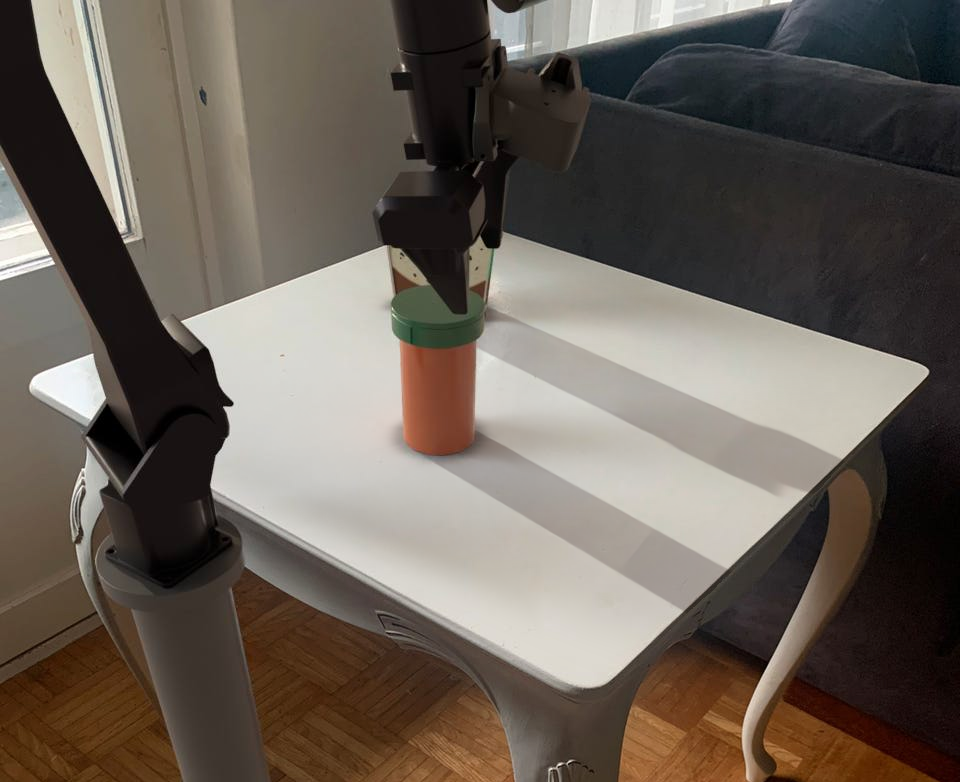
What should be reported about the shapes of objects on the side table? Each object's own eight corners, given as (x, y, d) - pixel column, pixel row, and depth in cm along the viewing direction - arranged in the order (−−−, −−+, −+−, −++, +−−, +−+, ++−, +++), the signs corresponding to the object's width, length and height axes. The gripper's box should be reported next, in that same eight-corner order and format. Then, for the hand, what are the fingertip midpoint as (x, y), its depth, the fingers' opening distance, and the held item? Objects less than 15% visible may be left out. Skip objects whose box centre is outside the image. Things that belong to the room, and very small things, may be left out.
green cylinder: (449, 358, 67) (449, 332, 66) (372, 333, 70) (370, 308, 69) (501, 323, 72) (502, 299, 70) (426, 301, 74) (426, 277, 73)
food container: (516, 299, 97) (521, 197, 90) (497, 324, 93) (501, 218, 86) (404, 281, 100) (401, 180, 93) (381, 304, 95) (376, 200, 89)
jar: (448, 463, 74) (448, 334, 67) (388, 440, 76) (382, 313, 69) (488, 431, 78) (492, 306, 70) (430, 411, 80) (428, 287, 73)
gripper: (540, 92, 49) (560, 355, 61) (603, -23, 61) (610, 217, 72) (343, 101, 52) (398, 350, 64) (438, -11, 64) (470, 218, 75)
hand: (477, 279), depth 69 cm, fingers open, 9 cm apart
